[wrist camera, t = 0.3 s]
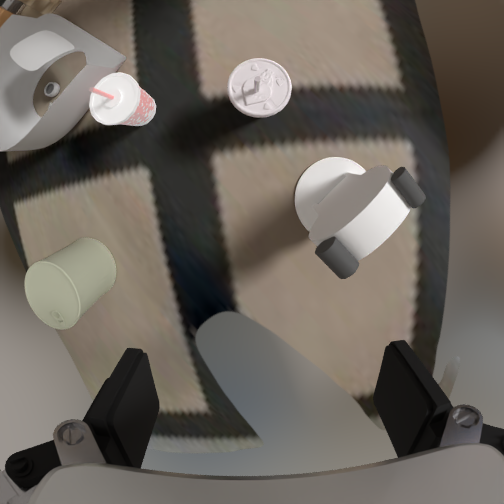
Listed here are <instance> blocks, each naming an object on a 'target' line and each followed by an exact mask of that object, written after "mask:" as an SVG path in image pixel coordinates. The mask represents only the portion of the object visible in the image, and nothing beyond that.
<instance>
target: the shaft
mask: <svg viewBox="0 0 504 504" xmlns="http://www.w3.org/2000/svg"><path fill="white" fill-rule="evenodd" d="M22 5H23V2H21V1H19V0H6V1H5V3H4V4H3V5H2V8H4V9H5V10H7V11H9V12H11V13H13V14H16V13H17V11H18V10H19V9H20V7H21V6H22Z"/></svg>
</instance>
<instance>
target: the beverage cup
mask: <svg viewBox="0 0 504 504" xmlns="http://www.w3.org/2000/svg"><path fill="white" fill-rule="evenodd" d="M89 90H90V92H92V93H91V95H90V103H89V107H90V111H91V115H92V116H93V117H94V118H95V119H96V121H97V122H100V123H102V124H105V125H118V124H122V125H131V126H142V125H145V124H147V123H148V122H149V121H150V120H151V119H152V118H153V116H154V114H155V112H156V104H155V101H154V99H153V98H152V97H151V96H150V95H149V94H147V93H146V92H145V91H144V90H143V89H142V88H141V87H140V86H139V85H138V83H137V82H136V81H135V80H134V79H133V78H132V77H131V76H130V75H128V74H125V73H122V72H119V73H111V74H109V75H107V76H106V77H104V78H102V79H101V80H100V81H99V82H98V83H97V84H96V85H95V87H91V88H90V89H89Z"/></svg>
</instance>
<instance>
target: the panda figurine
mask: <svg viewBox="0 0 504 504" xmlns="http://www.w3.org/2000/svg"><path fill="white" fill-rule="evenodd" d="M425 198H426V196H425V194H424V193H423V192H422V190H421V189H420V187H419V186H418V185H417V183H416V182H415V181H414V179H413V178H412V176H411V175H410V174H409V173H408V171H407V170H406V169H405V167H400V168H398V169H397V170H396V171H395V172H394V173H392V171H391V170H390V169H389V168H388V167H387V166H385V165H380V166H377V167H374V168H372V169H370V170H368V171H365V170H364V169H363V168H362V167H361V166H360V165H359V164H357V163H356V162H354V161H352V160H349V159H346V158H341V157H330V158H325V159H322V160H319V161H317V162H316V163H314V164H312V165H311V166H310V167H309V168H308V169H307V170H306V171H305V172H304V173H303V175H302V176H301V178H300V179H299V182H298V184H297V187H296V191H295V208H296V212H297V215H298V217H299V219H300V221H301V223H302V224H303V226H304V227H305V228H306V229H307V230H308V231H309V232H310V233H309V239H310V240H311V241H312V242H313V243H314V244H315V245H316V246H317V248H316V251H315V254H316V255H317V256H318V257H319V258H320V259H321V260H322V261H323V262H324V263H325V264H326V265H327V266H328V267H329V268H330V269H331V270H332V271H333V272H334V273H335V274H336V275H337V276H338V277H339V278H340V279H346V278H348V277H350V276H351V275H353V274H354V273H355V271H356V270H357V268H358V266H359V262H358V260H360V259H362V258H364V257H366V256H367V255H369V254H370V253H371V252H373V251H374V250H375V249H376V248H377V247H379V246H380V245H381V244H382V243H383V242H384V241H385V240H386V239H387V238H388V237H389V236H390V235H391V234H392V233H393V232H394V231H395V230H396V229H397V228H398V226H399V225H400V224H401V223H402V222H403V220H404V219H405V218H406V216H407V214H408V213H409V211H410V208H411V207H412V208H417V207H418V206H420V205H421V204H422V203H423V202H424V200H425Z"/></svg>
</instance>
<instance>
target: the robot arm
mask: <svg viewBox="0 0 504 504" xmlns="http://www.w3.org/2000/svg"><path fill="white" fill-rule="evenodd" d="M373 400H374V404H375V406H376V408H377V411H378V413H379V415H380V417H381V419H382V422H383V424H384V426H385V428H386V431H387V433H388V435H389V437H390V440H391V442H392V444H393V447H394V449H395V451H396V454H397V456H398V458H395V459H390V460H386V461H382V462H376V463H372V464H367V465H361V466H356V467H350V468H344V469H338V470H330V471H322V472H313V473H303V474H291V475H275V476H211V475H210V476H209V475H193V474H183V473H173V472H163V471H155V470H147V469H140V468H141V465H142V462H143V459H144V455H145V452H146V449H147V446H148V443H149V440H150V436H151V433H152V430H153V427H154V424H155V421H156V418H157V415H158V412H159V399H158V396H157V392H156V388H155V384H154V380H153V376H152V372H151V368H150V364H149V360H148V356H147V353H143V351H142V349H135V348H127V349H126V351H125V352H124V354H123V356H122V357H121V359H120V361H119V362H118V364H117V366H116V367H115V369H114V371H113V372H112V374H111V376H110V378H107V379H106V380H105V382H104V384H103V385H102V387H101V389H100V391H99V392H98V394H97V396H96V397H95V399H94V401H93V403H92V405H91V406H90V408H89V410H88V412H87V413H86V415H85V417H84V419H83V420H82V421H81V420H75V419H71V420H67V421H64V422H62V423H61V424H59V425H58V426H57V427H56V429H55V430H54V433H53V438H54V440H52V441H49V442H46V443H43V444H40V445H37V446H35V447H32V448H29V449H26V450H22V451H19V452H16V453H14V454H12V455H11V456H10V457H9V458H8V460H7V461H6V464H5V470H4V471H1V470H0V504H504V429H501V428H497V427H493V426H490V425H486V424H483V416H482V414H481V412H480V411H479V410H478V409H476V408H475V407H473V406H470V405H465V404H463V405H458V406H455V407H454V408H453V406H452V405H451V402H450V401H449V399H448V398H447V396H446V395H445V393H444V392H443V391H442V389H441V388H440V387H439V385H438V384H437V382H436V381H435V380H434V378H433V377H432V376H431V374H430V373H429V371H428V370H427V369H426V367H425V366H424V365H423V363H422V362H421V361H420V359H419V358H418V357H417V355H416V354H415V353H414V352H413V350H412V349H411V348H410V346H409V345H408V344H407V342H406V341H405V340H400V341H392V342H390V344H389V346H386V348H385V352H384V356H383V360H382V365H381V369H380V373H379V377H378V381H377V384H376V388H375V392H374V396H373Z"/></svg>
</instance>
